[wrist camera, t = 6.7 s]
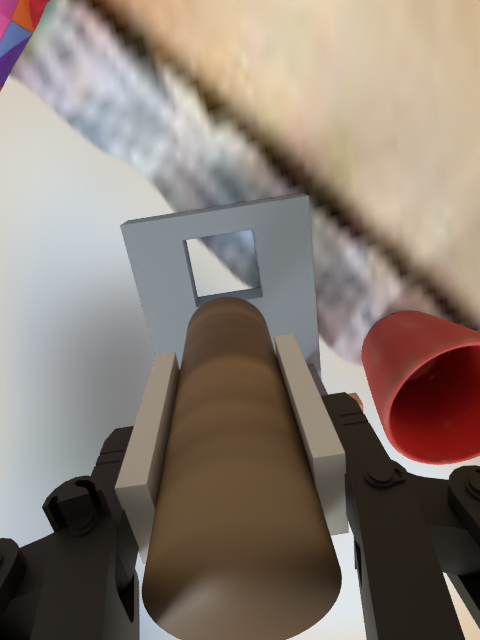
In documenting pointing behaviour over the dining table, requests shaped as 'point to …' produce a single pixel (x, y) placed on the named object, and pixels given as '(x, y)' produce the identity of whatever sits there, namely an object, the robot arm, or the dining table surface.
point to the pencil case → (16, 30)
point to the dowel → (236, 495)
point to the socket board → (270, 298)
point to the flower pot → (426, 386)
